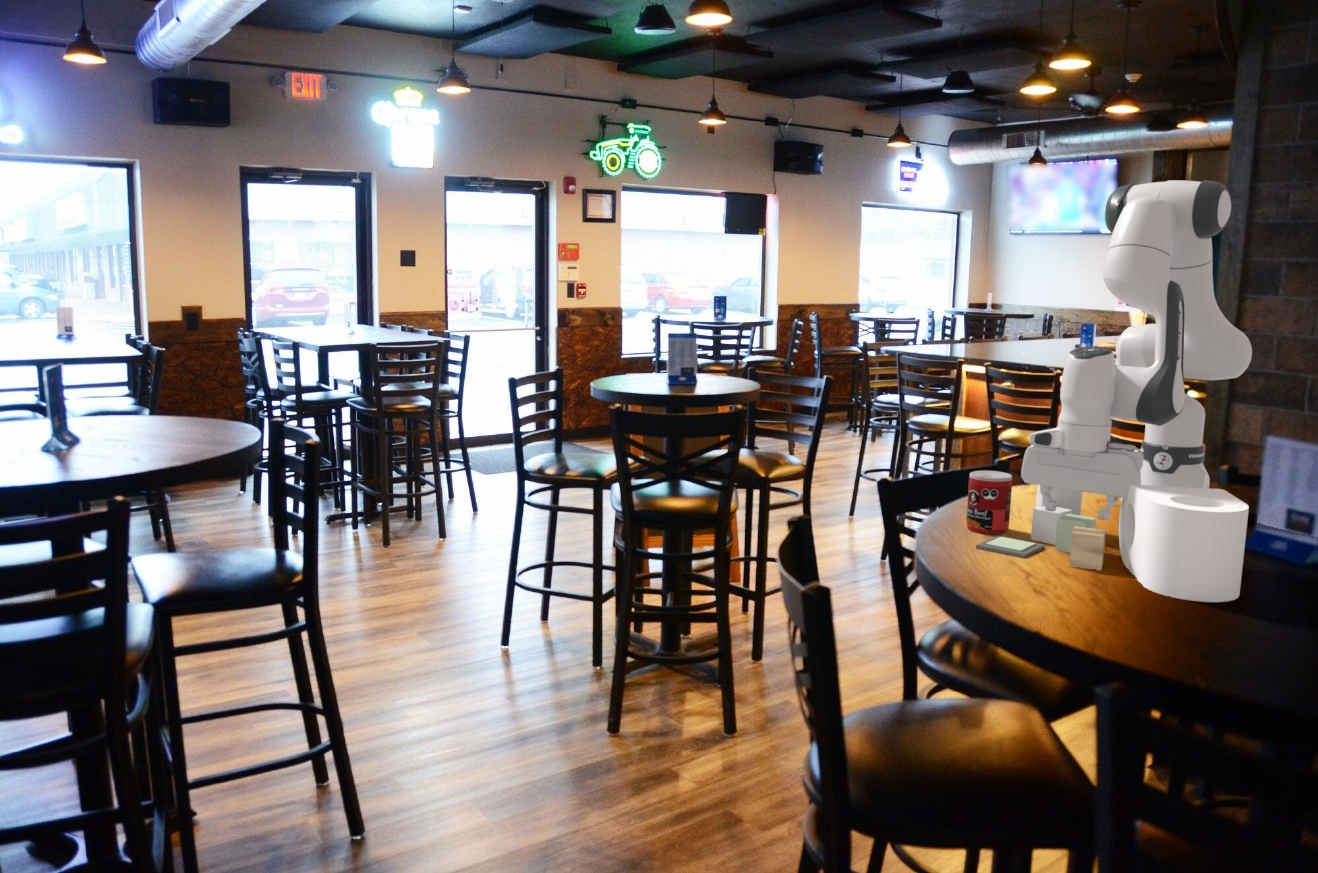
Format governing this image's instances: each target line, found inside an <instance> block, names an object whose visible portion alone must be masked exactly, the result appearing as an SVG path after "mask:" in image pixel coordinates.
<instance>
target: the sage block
mask: <svg viewBox="0 0 1318 873" xmlns="http://www.w3.org/2000/svg"><path fill="white" fill-rule="evenodd" d="M1096 525H1097V518H1096V517H1092V516H1091V517H1090V516H1085V515H1081V516H1079V515H1073V514H1067V515H1064V516H1062V517H1060V518H1058V524H1057V537H1056V545H1055V551H1056V552H1060V553H1061V552H1062V553H1068V554H1070V552H1071V539H1072V532H1073V530H1074V527H1075V526H1076V527H1085V528H1094V529H1096V527H1097V526H1096Z"/></svg>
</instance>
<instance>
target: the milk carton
mask: <svg viewBox="0 0 1318 873" xmlns="http://www.w3.org/2000/svg"><path fill="white" fill-rule="evenodd" d="M1036 486H1037V487H1036V500H1035V501H1036V502H1035V508H1037V507H1041V506H1045V500H1044V498H1043V496H1042V494H1041V492H1040V485H1036ZM1049 492H1050V495H1051V497H1052V499H1053V500H1054V501H1057V505H1056V507H1061V508H1065V509H1070V510H1072V514H1073V515H1079V516H1082V515H1081V514H1082V500H1083V492H1082V491H1076V490H1069V489H1062V488H1056V487H1052V490H1051V491H1049Z"/></svg>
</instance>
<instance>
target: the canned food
mask: <svg viewBox="0 0 1318 873" xmlns="http://www.w3.org/2000/svg"><path fill="white" fill-rule="evenodd" d="M1012 488H1013V475H1012V474H1010V473H1008V472H1003V471H998V470H974V471H971V472H970V473H969V477H968V491H967V492H968V493H967V507H966V508H967V510H966V522H965V523H966V524H965V525H966V528H967V530H969V531H970V532H973V533H977V534H983V535H1001V534H1005V533H1007V532H1008V530H1009V527H1010V518H1011V517H1010V516H1011V515H1010V514H1011V504H1012V502H1011V501H1012V490H1013V489H1012Z"/></svg>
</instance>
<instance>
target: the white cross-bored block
mask: <svg viewBox="0 0 1318 873" xmlns="http://www.w3.org/2000/svg"><path fill="white" fill-rule="evenodd" d="M1120 502H1121V501H1120ZM1249 509H1250V506H1249V505H1248V503H1246V502H1245V501H1243V500H1241V499H1240V498H1238V497H1236V496H1235V495H1233V494H1232V493H1229V491H1227V490H1225V489H1221V488H1211V487H1209V488H1190V487H1170V486H1150V485H1129V496H1128V498H1122V502H1121V503H1120V509H1119V516H1118V518H1119V521H1118V540H1119V551H1120V556H1121V560H1122V563H1123V565H1124V566H1125V567H1126V568H1127V570H1128V569H1129V570H1128V571H1129V572H1130V573H1131V575H1134V576H1135V577H1136V578H1137V579H1136V578H1135V577H1134V576H1133V577H1134V578H1135V579H1136V581H1138V583H1139V582H1140V583H1141V584H1142V585H1143V586H1142V585H1141V584H1140V583H1139V584H1140V585H1141V586H1142V587H1143V588H1145V589H1146V588H1147V589H1146V590H1149V591H1151V592H1153V593H1156V594H1159V595H1162V596H1166V597H1169V596H1170V598H1174V599H1180V600H1184V601H1185V600H1186V601H1190V602H1191V601H1192V602H1193V601H1194V602H1201V603H1224V602H1226V603H1227V602H1230V601H1235V600H1237V599H1239V597H1240V594H1241V592H1240V591H1241V584H1242V576H1243V567H1244V566H1243V565H1244V557H1245V549H1246V548H1245V546H1246V539H1247V538H1246V537H1247V530H1248V518H1249V512H1250V510H1249Z"/></svg>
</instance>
